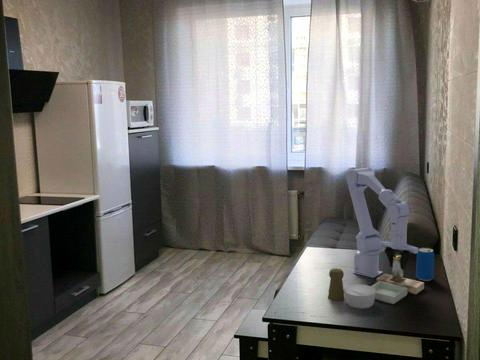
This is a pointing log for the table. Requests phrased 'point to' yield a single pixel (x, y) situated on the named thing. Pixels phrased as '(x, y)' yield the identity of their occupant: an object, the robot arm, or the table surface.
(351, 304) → the ramekin
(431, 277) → the beverage can
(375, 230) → the robot arm
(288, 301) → the table surface
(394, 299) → the tray
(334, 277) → the cork
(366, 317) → the table surface
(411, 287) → the wooden block with hole
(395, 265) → the white and gold cylinder
